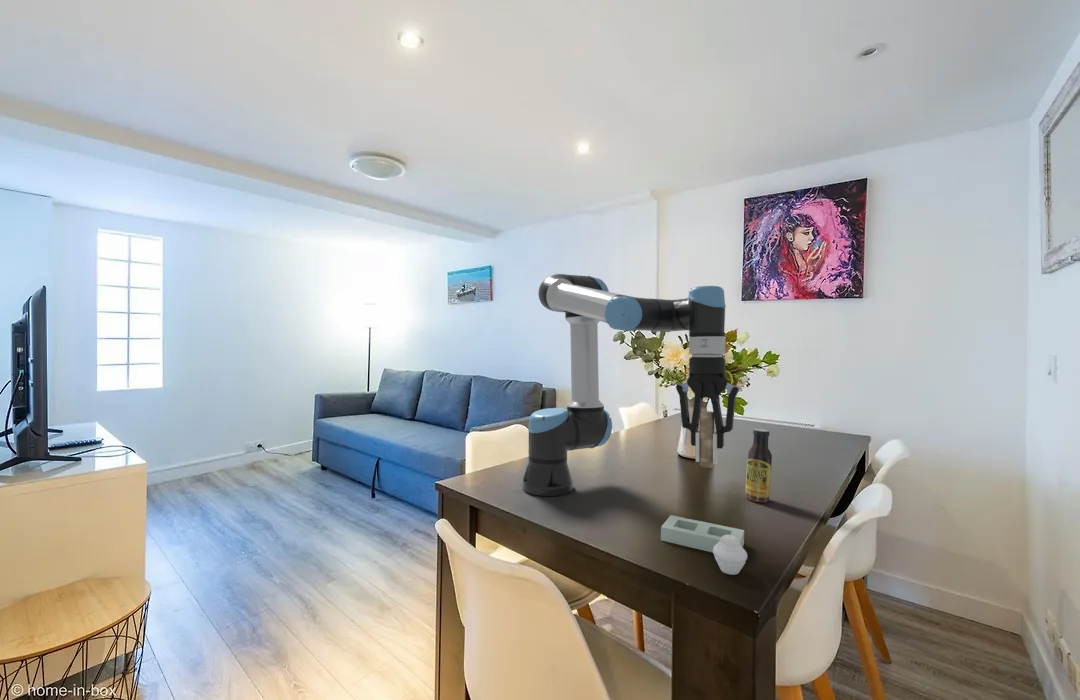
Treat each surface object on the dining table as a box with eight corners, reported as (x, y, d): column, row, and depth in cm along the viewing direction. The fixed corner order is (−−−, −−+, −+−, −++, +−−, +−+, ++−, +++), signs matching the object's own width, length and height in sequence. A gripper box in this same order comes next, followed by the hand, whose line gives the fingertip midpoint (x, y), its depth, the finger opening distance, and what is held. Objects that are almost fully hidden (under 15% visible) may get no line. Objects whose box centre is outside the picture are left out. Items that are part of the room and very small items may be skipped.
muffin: (740, 582, 82) (741, 545, 82) (707, 571, 86) (708, 535, 86) (751, 570, 87) (751, 534, 87) (719, 559, 91) (720, 525, 91)
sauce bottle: (742, 499, 125) (743, 429, 125) (749, 494, 130) (750, 426, 130) (767, 505, 121) (768, 432, 120) (774, 499, 125) (775, 429, 125)
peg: (698, 466, 99) (698, 412, 99) (701, 463, 102) (701, 410, 102) (712, 468, 97) (712, 413, 97) (715, 465, 100) (715, 411, 100)
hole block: (660, 540, 99) (661, 526, 99) (670, 527, 106) (670, 515, 106) (738, 558, 91) (739, 544, 91) (743, 543, 98) (744, 530, 98)
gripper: (666, 356, 100) (666, 460, 100) (744, 356, 92) (744, 470, 92) (674, 355, 107) (675, 453, 107) (748, 356, 99) (748, 462, 99)
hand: (707, 461), depth 99 cm, fingers closed on peg, 3 cm apart
